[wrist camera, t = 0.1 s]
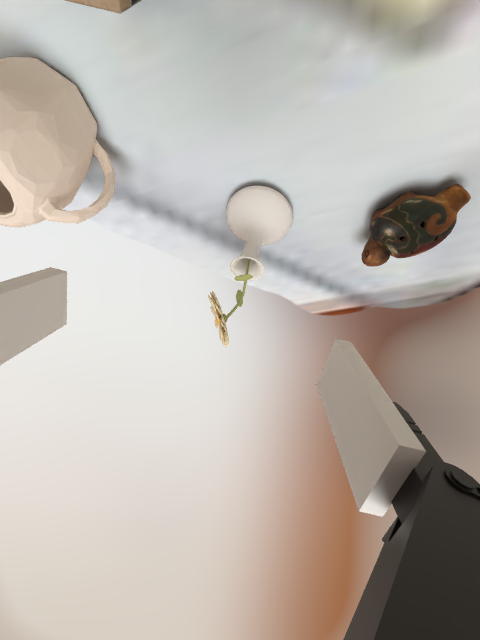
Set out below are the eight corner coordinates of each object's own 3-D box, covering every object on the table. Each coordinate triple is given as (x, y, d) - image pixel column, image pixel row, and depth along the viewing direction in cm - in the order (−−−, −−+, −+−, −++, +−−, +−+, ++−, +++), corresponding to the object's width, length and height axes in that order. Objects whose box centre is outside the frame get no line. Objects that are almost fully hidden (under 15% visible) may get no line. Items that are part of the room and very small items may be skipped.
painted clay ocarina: (343, 225, 49) (345, 255, 44) (436, 150, 38) (452, 179, 33) (380, 256, 52) (385, 287, 47) (474, 195, 41) (494, 228, 36)
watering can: (-87, -54, 30) (-299, -20, 20) (150, 118, 40) (88, 198, 30) (-51, 90, 42) (-173, 158, 32) (125, 196, 52) (74, 272, 42)
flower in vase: (241, 167, 44) (199, 294, 30) (306, 198, 46) (294, 329, 32) (217, 228, 54) (179, 342, 41) (271, 251, 57) (251, 366, 43)
